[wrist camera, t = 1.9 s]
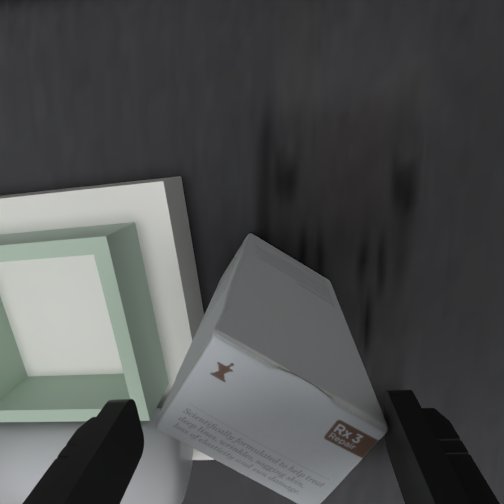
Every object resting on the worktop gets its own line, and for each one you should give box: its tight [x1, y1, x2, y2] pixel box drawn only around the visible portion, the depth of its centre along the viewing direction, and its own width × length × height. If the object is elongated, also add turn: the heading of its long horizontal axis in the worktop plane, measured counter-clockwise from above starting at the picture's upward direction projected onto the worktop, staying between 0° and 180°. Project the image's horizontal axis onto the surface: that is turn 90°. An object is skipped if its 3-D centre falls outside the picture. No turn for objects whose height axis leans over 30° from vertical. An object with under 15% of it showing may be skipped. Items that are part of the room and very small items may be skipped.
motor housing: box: [0, 176, 214, 504], centre depth 20 cm, size 14×18×8 cm
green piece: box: [0, 222, 169, 422], centre depth 19 cm, size 10×10×3 cm
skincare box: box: [156, 233, 388, 504], centre depth 16 cm, size 6×4×12 cm
